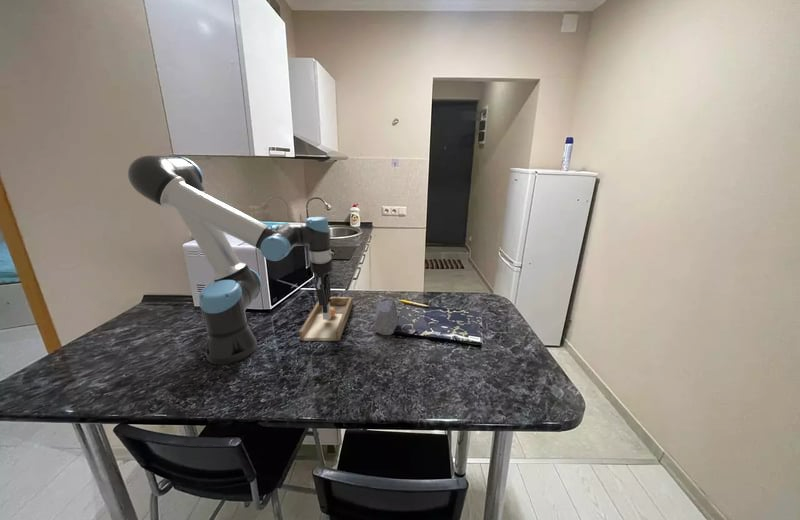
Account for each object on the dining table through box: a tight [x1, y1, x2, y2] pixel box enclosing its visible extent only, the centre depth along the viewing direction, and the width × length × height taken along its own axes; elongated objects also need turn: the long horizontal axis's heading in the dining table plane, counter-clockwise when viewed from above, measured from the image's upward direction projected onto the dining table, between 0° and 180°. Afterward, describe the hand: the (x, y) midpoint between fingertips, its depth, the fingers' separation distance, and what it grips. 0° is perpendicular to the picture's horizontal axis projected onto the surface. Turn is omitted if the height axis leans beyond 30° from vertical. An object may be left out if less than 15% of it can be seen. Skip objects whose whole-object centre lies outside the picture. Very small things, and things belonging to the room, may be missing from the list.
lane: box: [298, 296, 354, 342], centre depth 121 cm, size 14×28×4 cm, turn 179°
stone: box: [373, 298, 399, 336], centre depth 113 cm, size 12×10×10 cm
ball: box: [330, 307, 336, 317], centre depth 121 cm, size 4×4×4 cm
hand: (327, 318), depth 117 cm, fingers closed
